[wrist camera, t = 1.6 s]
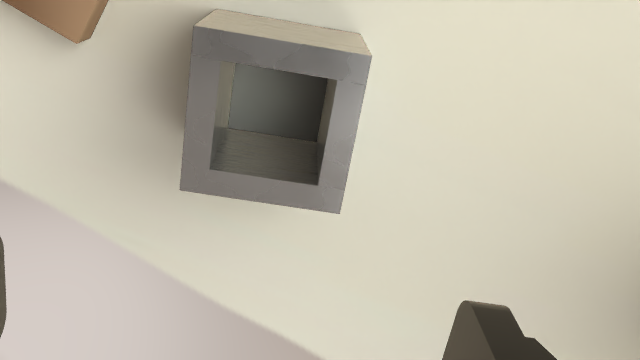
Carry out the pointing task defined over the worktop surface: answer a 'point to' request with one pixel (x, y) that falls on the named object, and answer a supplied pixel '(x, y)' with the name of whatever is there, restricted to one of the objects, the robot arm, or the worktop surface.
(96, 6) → the walnut base
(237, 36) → the hollow metal block
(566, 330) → the worktop surface
